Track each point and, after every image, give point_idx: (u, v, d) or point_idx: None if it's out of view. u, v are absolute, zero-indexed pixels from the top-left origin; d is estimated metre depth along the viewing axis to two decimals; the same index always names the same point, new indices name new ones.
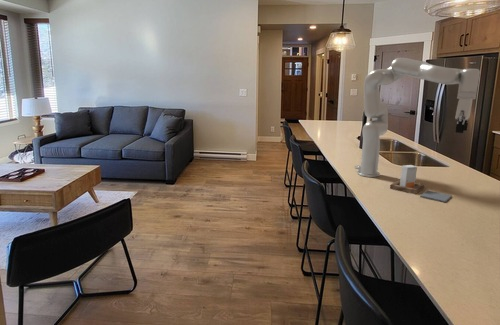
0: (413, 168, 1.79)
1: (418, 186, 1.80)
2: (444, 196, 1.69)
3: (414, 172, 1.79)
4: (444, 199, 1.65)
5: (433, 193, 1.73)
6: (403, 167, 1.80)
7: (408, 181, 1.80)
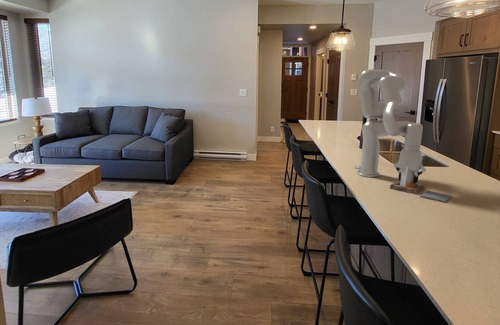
0: None
1: (418, 186, 1.80)
2: (444, 196, 1.69)
3: None
4: (444, 199, 1.65)
5: (433, 193, 1.73)
6: None
7: (408, 181, 1.80)
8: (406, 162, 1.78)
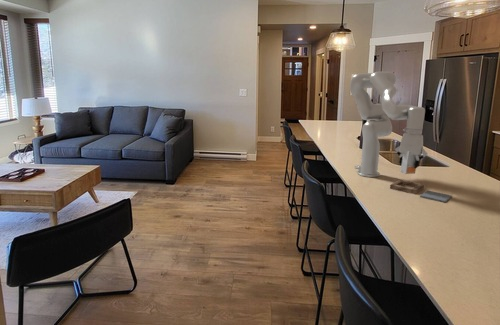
0: None
1: (418, 186, 1.80)
2: (444, 196, 1.69)
3: (415, 156, 1.78)
4: (444, 199, 1.65)
5: (433, 193, 1.73)
6: None
7: (409, 165, 1.78)
8: (407, 146, 1.77)
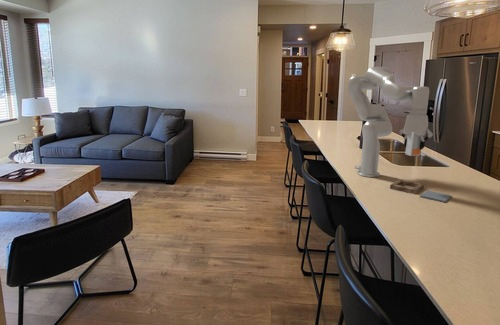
0: None
1: (418, 186, 1.80)
2: (444, 196, 1.69)
3: (420, 137, 1.74)
4: (444, 199, 1.65)
5: (433, 193, 1.73)
6: None
7: (415, 147, 1.75)
8: (412, 127, 1.73)
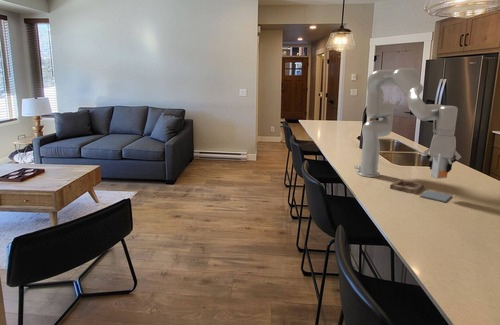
0: None
1: (418, 186, 1.80)
2: (444, 196, 1.69)
3: (447, 159, 1.64)
4: (444, 199, 1.65)
5: (433, 193, 1.73)
6: None
7: (441, 169, 1.65)
8: (439, 148, 1.63)
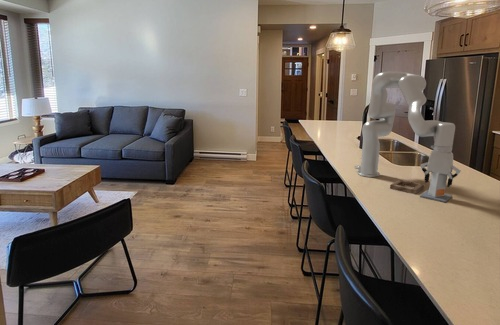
0: (444, 174, 1.66)
1: (418, 186, 1.80)
2: (444, 196, 1.69)
3: (445, 178, 1.67)
4: (444, 199, 1.65)
5: None
6: (433, 173, 1.67)
7: (439, 188, 1.67)
8: (436, 165, 1.65)
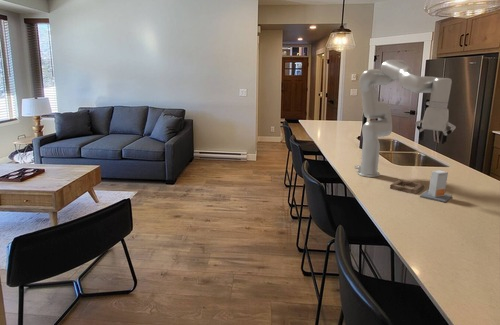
0: (444, 174, 1.66)
1: (418, 186, 1.80)
2: (444, 196, 1.69)
3: (445, 178, 1.67)
4: (444, 199, 1.65)
5: None
6: (433, 173, 1.67)
7: (439, 188, 1.67)
8: (431, 121, 1.63)
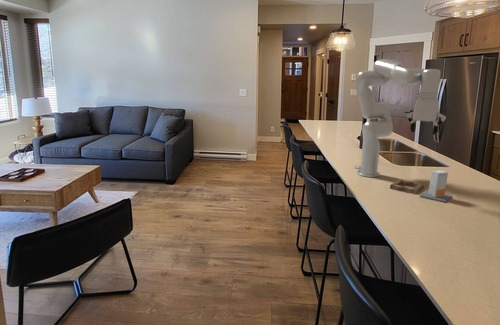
0: (444, 174, 1.66)
1: (418, 186, 1.80)
2: (444, 196, 1.69)
3: (445, 178, 1.67)
4: (444, 199, 1.65)
5: None
6: (433, 173, 1.67)
7: (439, 188, 1.67)
8: (422, 112, 1.64)
